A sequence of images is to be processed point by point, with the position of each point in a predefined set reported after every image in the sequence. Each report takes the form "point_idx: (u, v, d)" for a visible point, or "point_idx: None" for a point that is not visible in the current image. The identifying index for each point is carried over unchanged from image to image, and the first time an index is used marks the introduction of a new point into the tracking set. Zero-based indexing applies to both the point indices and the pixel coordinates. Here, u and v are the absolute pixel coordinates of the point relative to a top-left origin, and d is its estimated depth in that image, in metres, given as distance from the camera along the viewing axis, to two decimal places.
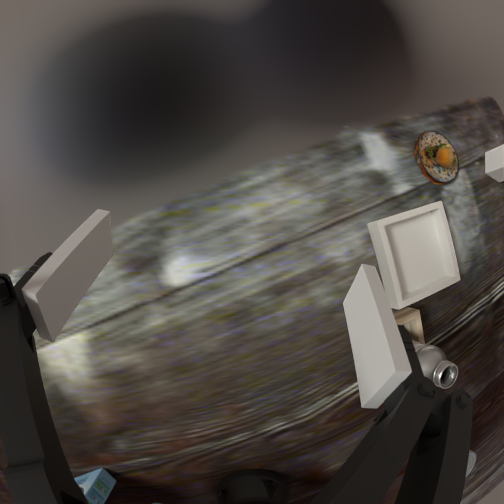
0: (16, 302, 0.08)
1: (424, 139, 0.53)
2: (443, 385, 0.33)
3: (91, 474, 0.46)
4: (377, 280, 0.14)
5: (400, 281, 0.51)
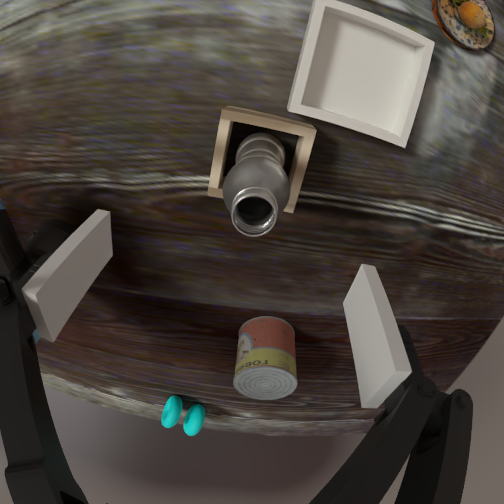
0: (15, 302, 0.08)
1: None
2: (244, 227, 0.25)
3: None
4: (377, 280, 0.14)
5: (318, 87, 0.34)
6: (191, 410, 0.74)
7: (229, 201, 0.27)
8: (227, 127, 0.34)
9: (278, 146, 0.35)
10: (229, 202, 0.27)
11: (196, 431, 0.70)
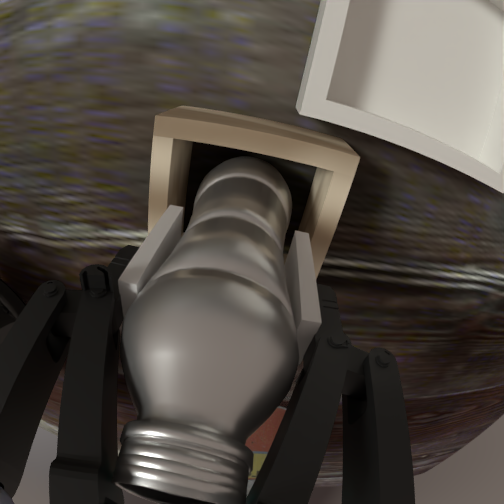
0: (111, 298, 0.10)
1: None
2: None
3: None
4: (306, 244, 0.15)
5: (358, 67, 0.16)
6: None
7: None
8: (168, 153, 0.16)
9: (277, 190, 0.17)
10: None
11: None
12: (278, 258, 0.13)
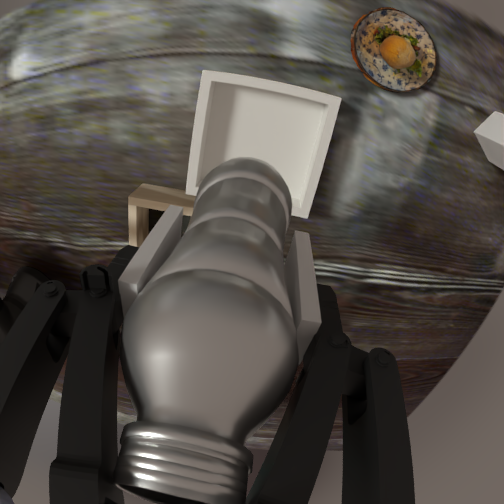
0: (111, 298, 0.10)
1: (389, 17, 0.26)
2: None
3: None
4: (306, 244, 0.15)
5: (218, 162, 0.39)
6: None
7: None
8: (135, 211, 0.39)
9: (277, 190, 0.17)
10: None
11: None
12: (278, 259, 0.13)
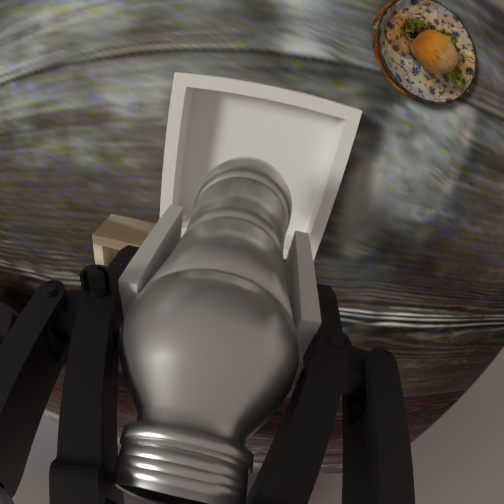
0: (111, 298, 0.10)
1: (420, 7, 0.18)
2: None
3: None
4: (306, 244, 0.15)
5: None
6: None
7: None
8: (101, 252, 0.31)
9: (277, 190, 0.17)
10: None
11: None
12: (278, 259, 0.13)
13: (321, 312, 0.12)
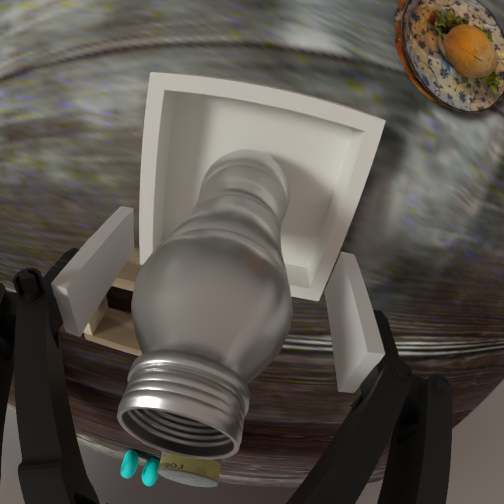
0: (44, 298, 0.09)
1: None
2: (169, 427, 0.09)
3: None
4: (355, 267, 0.14)
5: (186, 215, 0.26)
6: (147, 464, 0.67)
7: None
8: None
9: (276, 177, 0.19)
10: None
11: (151, 484, 0.63)
12: (275, 231, 0.14)
13: None
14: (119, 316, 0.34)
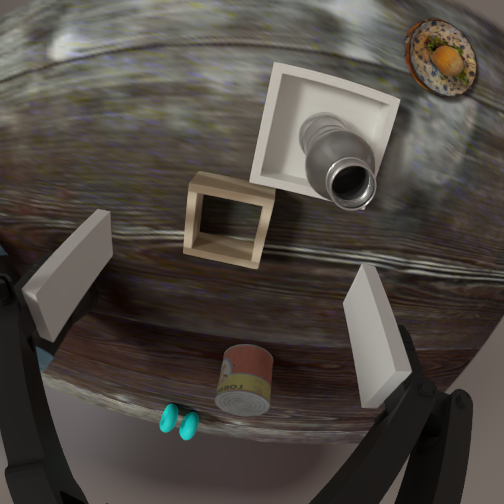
0: (16, 302, 0.08)
1: (438, 27, 0.26)
2: (339, 201, 0.22)
3: None
4: (377, 280, 0.14)
5: (280, 153, 0.39)
6: (186, 417, 0.81)
7: (317, 173, 0.24)
8: (195, 198, 0.40)
9: (345, 126, 0.32)
10: (317, 175, 0.24)
11: (190, 436, 0.77)
12: None
13: None
14: (209, 237, 0.48)
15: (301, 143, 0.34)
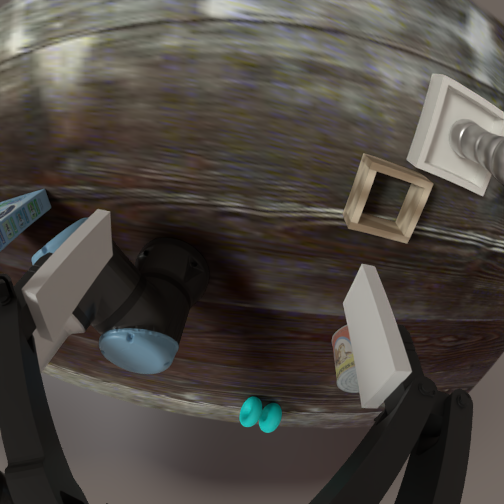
0: (16, 302, 0.08)
1: None
2: None
3: (30, 194, 0.51)
4: (377, 280, 0.14)
5: (431, 146, 0.41)
6: (268, 409, 0.82)
7: None
8: (373, 176, 0.41)
9: None
10: None
11: (274, 428, 0.78)
12: None
13: None
14: (362, 215, 0.49)
15: (458, 141, 0.36)
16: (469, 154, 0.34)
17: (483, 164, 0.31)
